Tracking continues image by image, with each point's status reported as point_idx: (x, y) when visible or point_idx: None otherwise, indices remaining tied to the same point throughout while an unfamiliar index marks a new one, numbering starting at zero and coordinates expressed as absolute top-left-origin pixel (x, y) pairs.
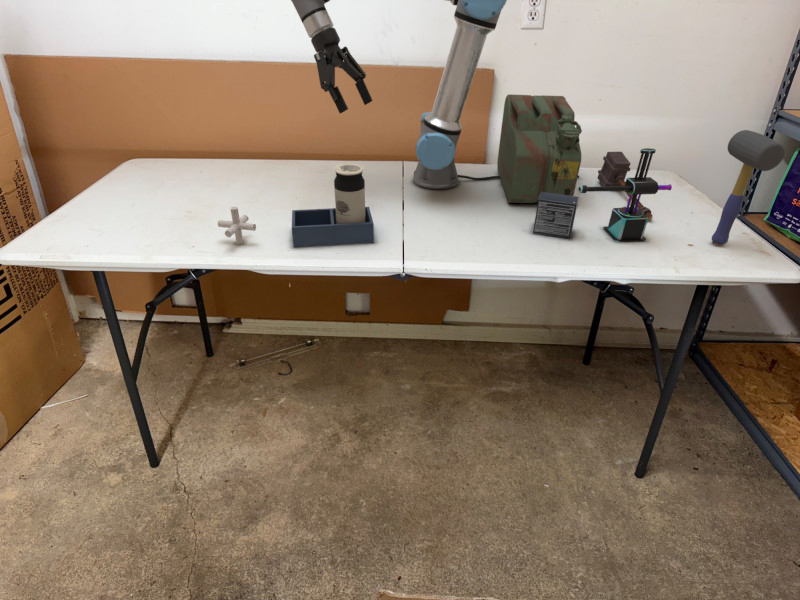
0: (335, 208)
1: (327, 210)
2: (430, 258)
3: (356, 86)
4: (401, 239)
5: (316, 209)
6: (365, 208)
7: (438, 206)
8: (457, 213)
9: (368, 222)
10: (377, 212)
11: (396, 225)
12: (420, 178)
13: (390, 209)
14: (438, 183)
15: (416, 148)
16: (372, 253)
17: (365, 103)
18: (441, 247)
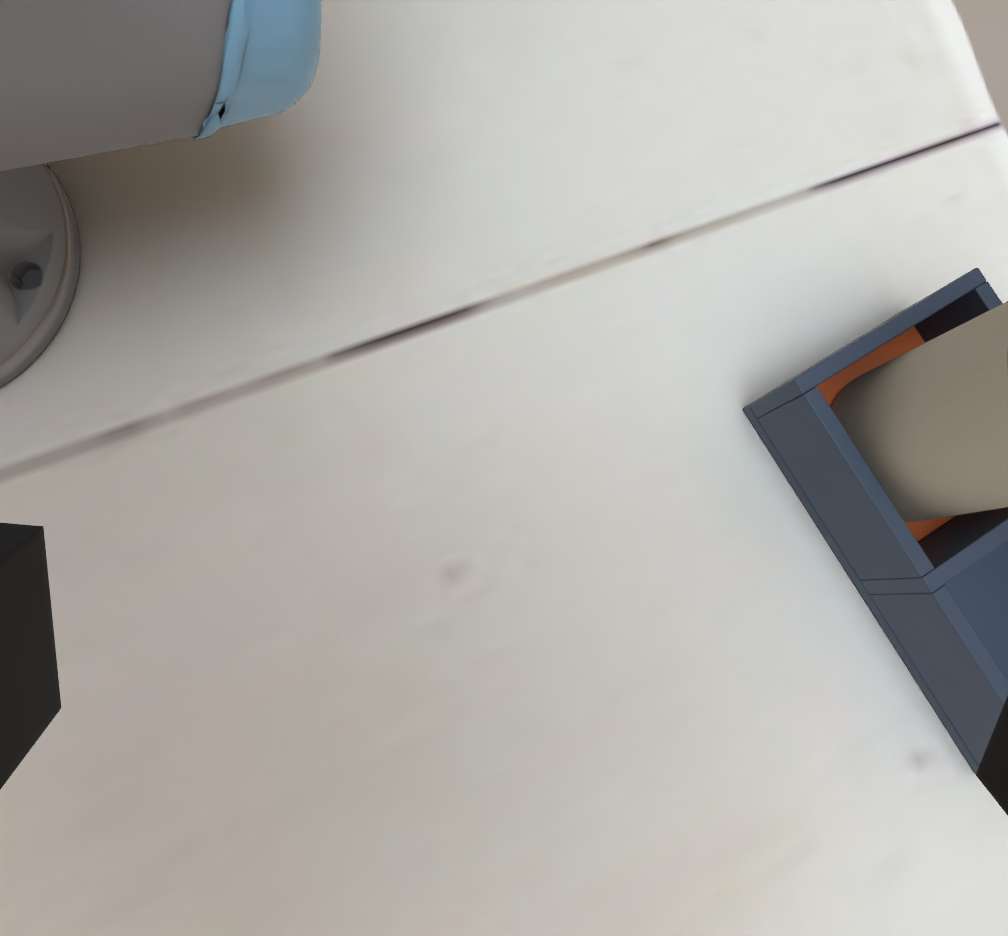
0: (917, 557)
1: (949, 597)
2: (910, 30)
3: None
4: (809, 200)
5: (984, 662)
6: (818, 392)
7: (335, 136)
8: (389, 18)
9: (981, 296)
10: (569, 435)
11: (678, 275)
12: (18, 313)
13: (496, 380)
14: (47, 181)
15: (298, 52)
16: (994, 276)
17: (47, 691)
18: (795, 9)
